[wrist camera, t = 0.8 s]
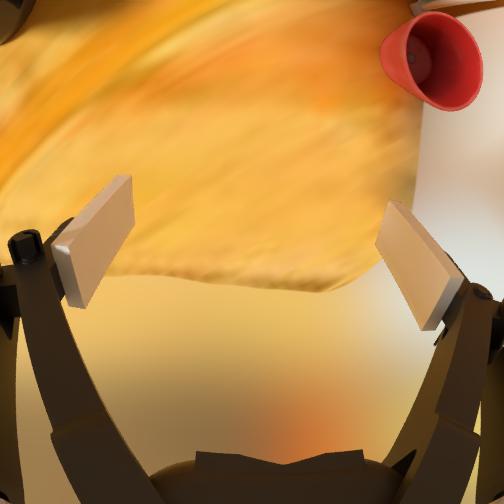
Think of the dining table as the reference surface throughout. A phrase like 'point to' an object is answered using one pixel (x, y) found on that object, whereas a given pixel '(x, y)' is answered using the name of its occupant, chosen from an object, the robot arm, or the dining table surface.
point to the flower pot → (434, 60)
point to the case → (437, 5)
